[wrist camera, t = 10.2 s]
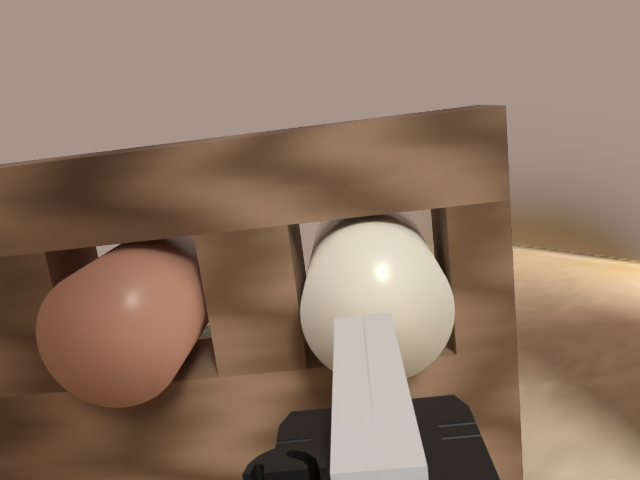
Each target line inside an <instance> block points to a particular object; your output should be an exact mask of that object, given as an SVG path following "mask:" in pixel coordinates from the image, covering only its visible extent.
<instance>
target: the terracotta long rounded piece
mask: <svg viewBox="0 0 640 480" xmlns="http://www.w3.org/2000/svg"><path fill="white" fill-rule="evenodd" d="M208 323H209V319H208V314H207V308H206V302H205V297H204V291H203V285H202V280H201V274H200V269H199V263H198V257H197V252H196V246H195V241H194V235H193V236H184V237H175V238H166V239H157V240H148V241H139V242H130V243H121V244H120V245H118V246H117V247H115V248H113V249H112V250H110V251H109V252H107V253H105V254H104V255H102V256H101V257H99V258H97V259H96V260H94V261H93V262H91V263H89V264H88V265H86V266H85V267H83V268H81V269H80V270H78V271H77V272H75V273H73V274H72V275H70V276H69V277H67V278H65V279H64V280H62V281H61V282H60V283H58V284H57V285H56V286H55V287H54V288H53V289H52V290H51V291H50V292H49V294H48V295H47V296H46V298H45V299H44V301H43V303H42V305H41V307H40V310H39V312H38V317H37V321H36V340H37V346H38V350H39V353H40V356H41V358H42V360H43V362H44V364H45V366H46V368H47V369H48V371H49V372H50V374H51V375H52V376H53V377H54V379H55V380H56V381H57V382H58V383H59V384H60V385H61V386H62V387H63V388H65V389H66V390H67V391H68V392H70V393H71V394H73V395H75V396H76V397H78V398H80V399H82V400H84V401H86V402H89V403H92V404H95V405H99V406H104V407H112V408H122V407H130V406H135V405H138V404H142V403H144V402H146V401H149V400H151V399H152V398H154V397H156V396H157V395H159V394H160V393H161V392H162V391H163V390H164V389H165V388H166V387H167V386H168V385H169V384H170V383H171V381H172V380H173V378H174V377H175V375H176V374H177V372H178V370H179V369H180V367H181V366H182V364H183V362H184V361H185V359H186V358H187V356H188V354H189V353H190V351H191V350H192V348H193V346H194V345H195V343H196V342H197V340H198V339H199V337H200V335H201V334H202V332H203V331H204V329H205V327H206V326H207V324H208Z"/></svg>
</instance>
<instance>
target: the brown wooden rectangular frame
mask: <svg viewBox="0 0 640 480" xmlns="http://www.w3.org/2000/svg"><path fill="white" fill-rule="evenodd" d="M426 209H431V215H432V228H433V240H434V254H435V259H436V261H437V263H438V264H439V266H440V268H441V269H442V271H443V273H444V275H445V276H446V278H447V280H448V282H449V285H450V287H451V290H452V294H453V297H454V304H455V318H454V325H453V329H452V332H451V335H450V337H449V340H448V342H447V344H446V346H445V347H444V349H443V351H442V352H441V353H440V354H439V356H438V357H437V358H436V359H435V360H434V361H433V362H432V363H431V364H430V365H429V366H428V367H426V368H425V369H424V370H422V371H421V372H419V373H417V374H416V375H414V376H412V377H409V378H407V383H408V387H409V391H410V395H411V399H413V398H423V397H434V396H445V395H455V396H456V397H458V398H459V399H460V400H462V401H463V402H464V403H465V404H467V405H468V406H469V407H470V410H471V412H472V414H473V417H474V419H475V423H476V424H477V426H478V429H479V431H480V434H481V436H482V438H483V440H484V443H485V445H486V448H487V450H488V452H489V455H490V457H491V459H492V462H493V464H494V466H495V469H496V471H497V473H498V476H499V478H500V480H523V466H522V445H521V423H520V402H519V380H518V359H517V337H516V316H515V294H514V273H513V251H512V230H511V211H510V210H511V208H510V187H509V165H508V144H507V123H506V106H501V105H500V106H498V105H495V106H494V105H477V106H468V107H460V108H452V109H443V110H436V111H427V112H419V113H411V114H404V115H395V116H387V117H380V118H372V119H363V120H354V121H346V122H339V123H330V124H322V125H314V126H306V127H298V128H290V129H282V130H274V131H266V132H257V133H249V134H242V135H233V136H225V137H217V138H210V139H201V140H194V141H185V142H177V143H169V144H161V145H152V146H145V147H136V148H129V149H120V150H112V151H104V152H96V153H88V154H80V155H72V156H65V157H64V156H63V157H56V158H47V159H39V160H31V161H23V162H15V163H7V164H0V480H243V477H242V474H243V472H244V470H245V469H246V467H247V465H248V464H249V463H250V462H251V461H252V460H254V459H255V458H256V457H257V456H259V455H261V454H263V453H265V452H267V451H269V450H272V449H275V446H276V444H277V441H276V440H277V435H278V430H279V425H280V424H281V423H282V422H283V421H284V419H285V418H286V417H287V416H288V415H289V414H290V412H292V411H302V410H313V409H324V408H332V388H333V371H332V370H330V369H329V368H328V367H327V366H325V365H324V364H323V363H322V362H321V361H320V360H319V359H318V358H317V357H316V355H315V354H314V353H313V351H312V350H311V348H310V347H309V345H308V343H307V341H306V339H305V336H304V333H303V330H302V325H301V318H300V306H301V299H302V294H303V290H304V285H305V281H306V272H305V265H304V258H303V250H302V243H301V235H300V228H299V224H300V223H309V222H318V221H327V220H336V219H345V218H354V217H363V216H372V215H381V214H390V213H399V212H408V211H417V210H426ZM193 235H194V241H195V246H196V252H197V257H198V263H199V269H200V274H201V280H202V285H203V291H204V297H205V302H206V308H207V314H208V319H209V325H210V330H211V336H212V338H210V339H200V340H197V342H196V343H195V345H194V346H193V348H192V350H191V351H190V353H189V354H188V356H187V358H186V359H185V361H184V362H183V364H182V366H181V367H180V369H179V370H178V372H177V374H176V375H175V377H174V378H173V380H172V381H171V383H170V384H169V385H168V386H167V387H166V388H165V389H164V390H163V391H162V392H161V393H160V394H159V395H157V396H156V397H154V398H152V399H151V400H149V401H146V402H144V403H142V404H138V405H135V406H130V407H122V408H112V407H104V406H99V405H95V404H92V403H89V402H86V401H84V400H82V399H80V398H78V397H76V396H75V395H73V394H71V393H70V392H68V391H67V390H66V389H65V388H63V387H62V386H61V385H60V384H59V383H58V382H57V381H56V380H55V379H54V377H53V376H52V375H51V374H50V372H49V371H48V369H47V368H46V366H45V364H44V362H43V360H42V358H41V356H40V353H39V350H38V346H37V340H36V321H37V317H38V312H39V310H40V307H41V305H42V303H43V301H44V299H45V298H46V296H47V295H48V294H49V292H50V291H51V290H52V289H53V288H54V287H55V286H56V285H57V284H58V283H60V282H61V281H62V280H64V279H65V278H67V277H69V276H70V275H72V274H73V273H75V272H77V271H78V270H80V269H81V268H83V267H85V266H86V265H88V264H89V263H91V262H93V261H94V260H96V259H97V258H98V255H97V250H96V246H103V245H112V244H121V243H130V242H139V241H148V240H157V239H166V238H175V237H184V236H193Z"/></svg>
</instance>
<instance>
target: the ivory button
mask: <svg viewBox="0 0 640 480" xmlns="http://www.w3.org/2000/svg"><path fill="white" fill-rule="evenodd" d="M389 312H391V316H392V320H393V324H394V328H395V333H396V337H397V341H398V345H399V349H400V353H401V358H402V362H403V366H404V370H405V374H406V379H407V378H409V377H412V376H414V375H416V374H417V373H419V372H421V371H422V370H424V369H425V368H426V367H428V366H429V365H430V364H431V363H432V362H433V361H434V360H435V359H436V358H437V357H438V356H439V354H440V353H441V352H442V351H443V349H444V347H445V346H446V344H447V342H448V340H449V337H450V335H451V332H452V329H453V325H454V318H455V304H454V297H453V294H452V290H451V287H450V285H449V282H448V280H447V278H446V276H445V275H444V273H443V271H442V269H441V268H440V266H439V264H438V263H437V261H436V259H435V257H434V256H433V254H432V252H431V250H430V249H429V247H428V245H427V244H426V242H425V240H424V238H423V237H422V235H421V233H420V231H419V230H418V228H417V226H416V224H415V223H414V221H413V219H412V218H411V216H410V215H409V214H408V213H407V212H399V213H390V214H381V215H372V216H363V217H354V218H345V219H336V220H327V221H321V222H320V224H319V227H318V229H317V232H316V237H315V241H314V246H313V250H312V255H311V259H310V264H309V268H308V272H307V277H306V281H305V285H304V290H303V294H302V299H301V306H300V318H301V325H302V330H303V333H304V336H305V339H306V341H307V343H308V345H309V347H310V348H311V350H312V351H313V353H314V354H315V355H316V357H317V358H318V359H319V360H320V361H321V362H322V363H323V364H324V365H325V366H327V367H328V368H329V369H330V370H332V371H333V353H334V319H335V318H340V317H350V316H360V315H370V314H379V313H389Z"/></svg>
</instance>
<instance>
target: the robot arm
mask: <svg viewBox="0 0 640 480" xmlns="http://www.w3.org/2000/svg"><path fill="white" fill-rule="evenodd" d="M276 441H277V444H276V446H275V449H272V450H269V451H267V452H265V453H263V454H261V455H259V456H257V457H256V458H255V459H254V460H252V461H251V462H250V463H249V464H248V465H247V467H246V469H245V470H244V472H243V474H242V477H243V480H500V478H499V476H498V473H497V471H496V469H495V466H494V464H493V462H492V459H491V457H490V455H489V452H488V450H487V448H486V445H485V443H484V440H483V438H482V436H481V434H480V431H479V429H478V426H477V424H476V423H475V419H474V417H473V414H472V412H471V410H470V407H469V406H468V405H467V404H465V403H464V402H463V401H462V400H460V399H459V398H458V397H456V396H455V395H445V396H434V397H423V398H413V399H411V395H410V391H409V387H408V383H407V379H406V374H405V370H404V366H403V362H402V358H401V353H400V349H399V345H398V341H397V337H396V333H395V328H394V324H393V320H392V316H391V312H389V313H379V314H370V315H360V316H350V317H340V318H335V319H334V353H333V388H332V408H324V409H313V410H302V411H292V412H290V414H289V415H288V416H287V417H286V418H285V419H284V421H283V422H282V423H281V424H280V425H279V430H278V435H277V440H276Z"/></svg>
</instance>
